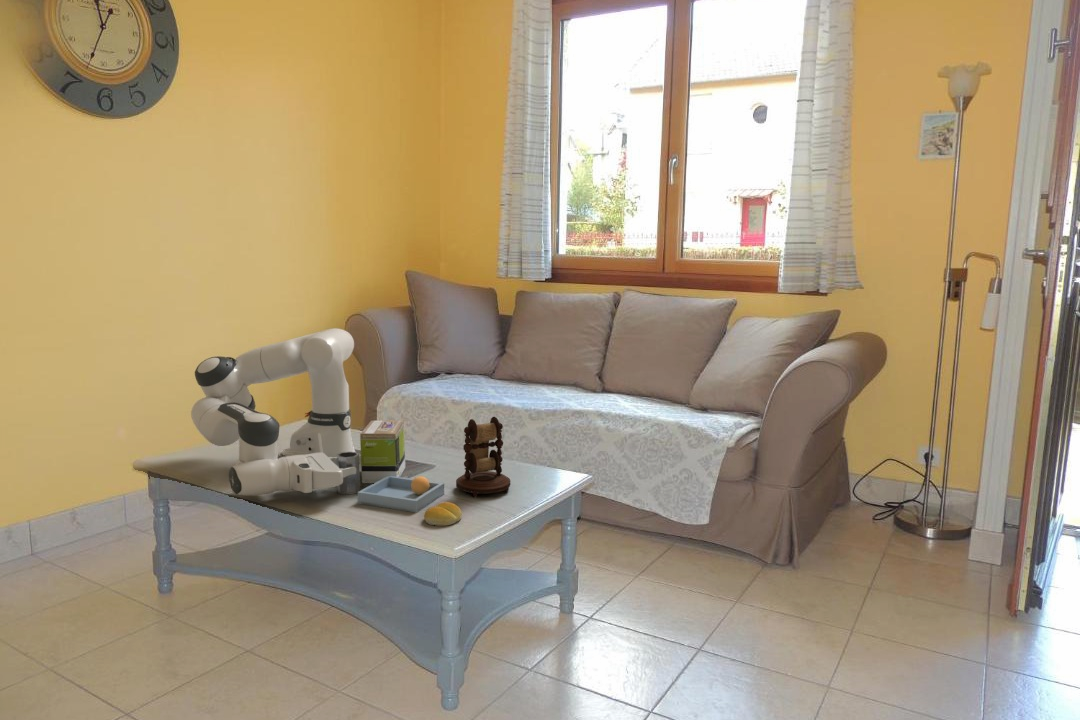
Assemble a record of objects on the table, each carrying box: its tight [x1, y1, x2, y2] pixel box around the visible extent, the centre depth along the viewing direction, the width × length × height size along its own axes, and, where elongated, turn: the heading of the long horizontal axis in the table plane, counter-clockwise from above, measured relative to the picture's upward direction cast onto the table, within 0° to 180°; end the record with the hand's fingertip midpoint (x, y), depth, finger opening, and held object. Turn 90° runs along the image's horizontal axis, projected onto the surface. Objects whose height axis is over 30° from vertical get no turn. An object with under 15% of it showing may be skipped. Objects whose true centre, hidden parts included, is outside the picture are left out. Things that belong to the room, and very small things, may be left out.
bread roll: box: [423, 501, 463, 527], centre depth 186 cm, size 8×9×4 cm
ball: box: [411, 475, 430, 495], centre depth 202 cm, size 5×5×5 cm
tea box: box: [359, 420, 406, 484], centre depth 218 cm, size 15×10×15 cm, turn 1°
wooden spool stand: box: [455, 416, 511, 498], centre depth 207 cm, size 15×15×20 cm
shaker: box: [336, 451, 361, 495], centre depth 205 cm, size 5×5×10 cm
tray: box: [357, 476, 445, 513], centre depth 200 cm, size 17×15×3 cm
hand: (350, 465), depth 205 cm, fingers open, 8 cm apart
